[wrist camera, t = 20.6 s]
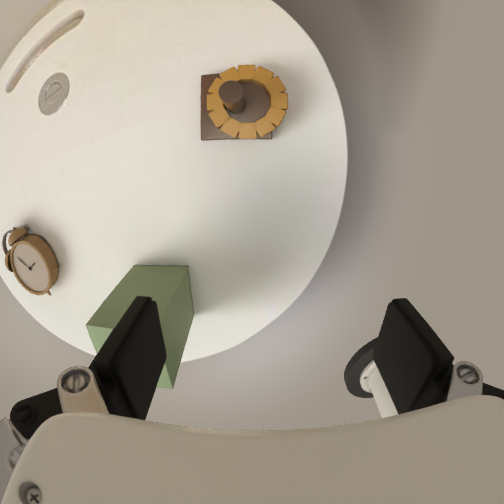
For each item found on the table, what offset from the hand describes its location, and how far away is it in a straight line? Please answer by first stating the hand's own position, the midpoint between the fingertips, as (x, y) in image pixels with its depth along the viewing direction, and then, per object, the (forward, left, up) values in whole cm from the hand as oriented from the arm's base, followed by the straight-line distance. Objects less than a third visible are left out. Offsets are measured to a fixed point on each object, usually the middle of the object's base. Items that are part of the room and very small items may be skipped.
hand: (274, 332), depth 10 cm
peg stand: (+3, -12, -28) cm, 31 cm away
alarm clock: (+43, +9, -28) cm, 52 cm away
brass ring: (+1, -13, -26) cm, 29 cm away
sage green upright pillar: (+15, +15, -28) cm, 35 cm away
